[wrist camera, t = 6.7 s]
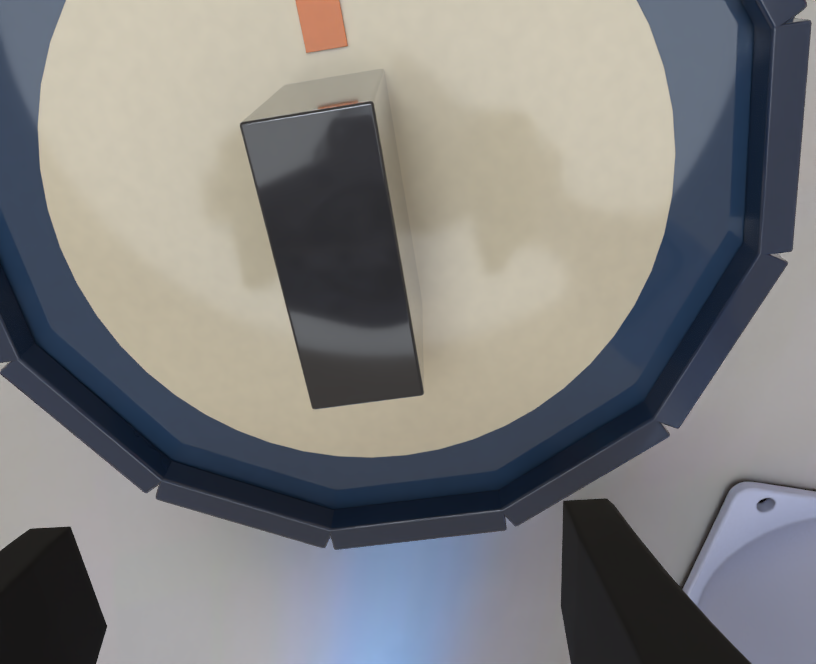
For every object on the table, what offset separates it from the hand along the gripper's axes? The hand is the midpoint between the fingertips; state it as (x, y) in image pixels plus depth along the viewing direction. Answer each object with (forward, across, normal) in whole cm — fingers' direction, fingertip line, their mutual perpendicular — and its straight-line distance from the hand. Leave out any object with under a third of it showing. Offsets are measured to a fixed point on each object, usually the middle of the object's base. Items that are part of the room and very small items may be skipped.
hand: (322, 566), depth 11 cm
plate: (+8, 0, -3) cm, 8 cm away
